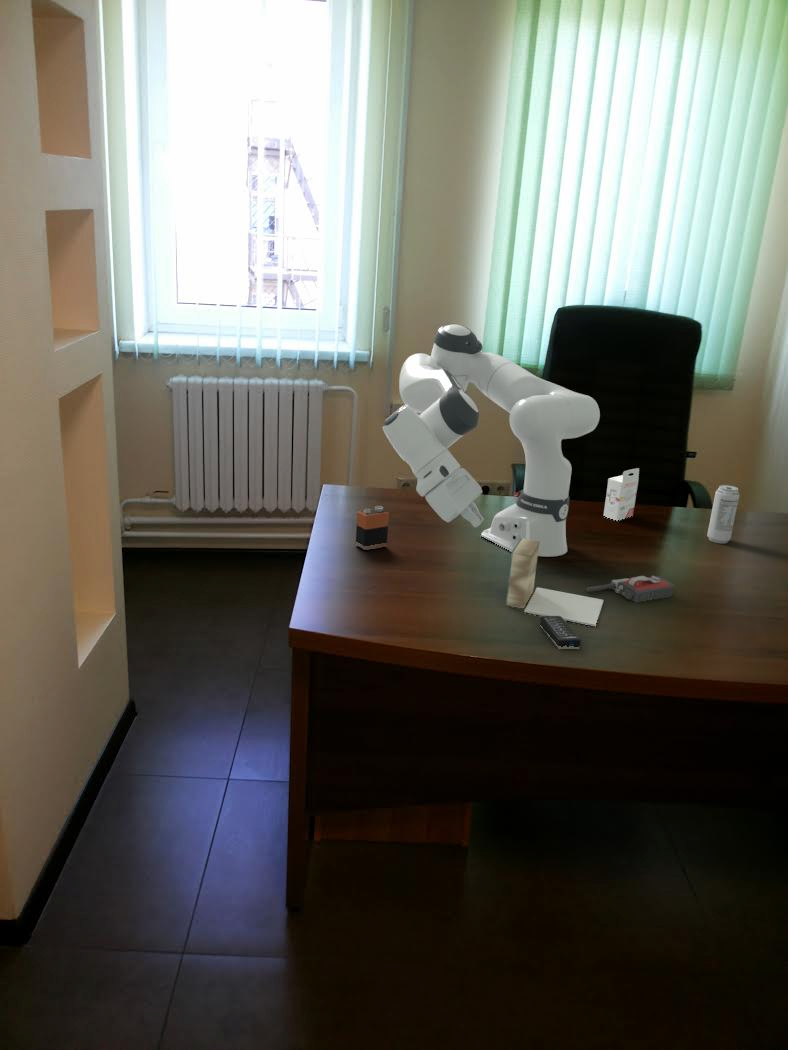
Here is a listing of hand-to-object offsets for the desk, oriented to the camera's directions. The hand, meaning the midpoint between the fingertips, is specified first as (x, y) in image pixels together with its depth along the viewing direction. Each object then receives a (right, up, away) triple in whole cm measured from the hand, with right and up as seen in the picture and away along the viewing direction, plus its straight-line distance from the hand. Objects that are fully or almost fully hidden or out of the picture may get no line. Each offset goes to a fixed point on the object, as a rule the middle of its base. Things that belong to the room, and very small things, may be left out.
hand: (479, 524), depth 176 cm
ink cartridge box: (+47, +2, +65) cm, 80 cm away
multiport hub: (+14, -22, -14) cm, 30 cm away
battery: (-24, -6, +27) cm, 37 cm away
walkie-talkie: (+35, -16, +9) cm, 39 cm away
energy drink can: (+70, -5, +50) cm, 86 cm away
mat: (+18, -18, -1) cm, 25 cm away
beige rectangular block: (+9, -16, +2) cm, 18 cm away
